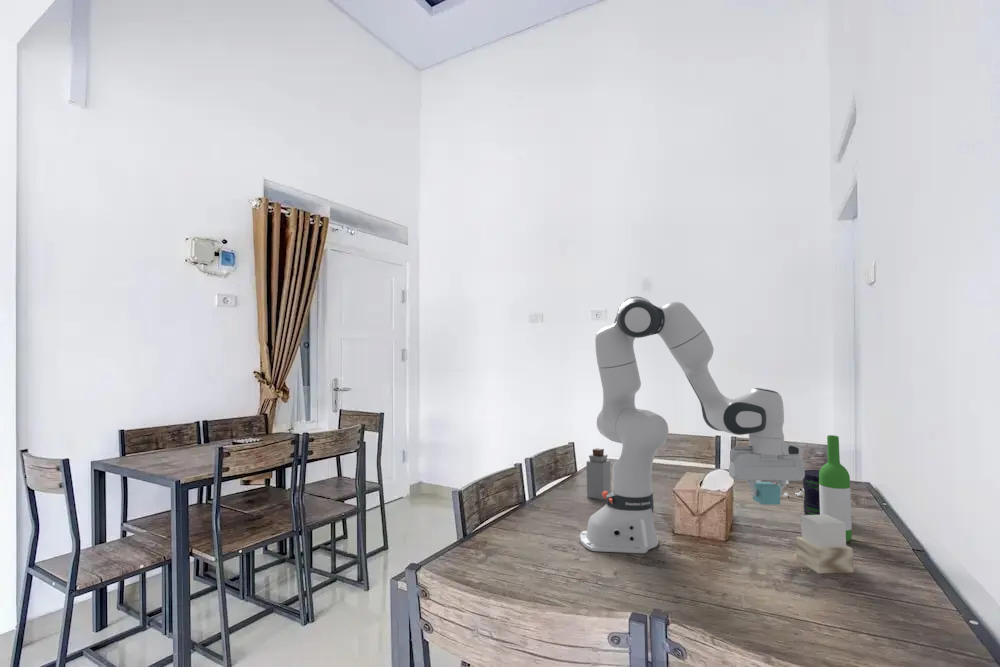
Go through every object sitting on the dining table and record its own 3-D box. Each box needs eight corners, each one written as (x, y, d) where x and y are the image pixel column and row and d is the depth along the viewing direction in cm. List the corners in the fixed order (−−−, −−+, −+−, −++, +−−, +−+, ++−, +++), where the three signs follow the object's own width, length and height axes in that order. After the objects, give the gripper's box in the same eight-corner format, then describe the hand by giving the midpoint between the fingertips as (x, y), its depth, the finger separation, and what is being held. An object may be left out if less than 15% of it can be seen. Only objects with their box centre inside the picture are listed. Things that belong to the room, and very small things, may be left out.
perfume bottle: (594, 493, 204) (594, 447, 205) (610, 495, 200) (610, 448, 201) (587, 497, 199) (586, 449, 199) (603, 499, 195) (602, 451, 195)
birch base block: (818, 574, 130) (817, 549, 130) (796, 559, 138) (795, 536, 139) (853, 572, 130) (852, 548, 130) (829, 558, 139) (828, 535, 139)
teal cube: (762, 504, 143) (762, 486, 143) (752, 499, 148) (752, 481, 148) (780, 504, 143) (780, 486, 143) (769, 499, 148) (769, 481, 148)
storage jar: (833, 526, 163) (831, 478, 164) (799, 518, 171) (797, 473, 171) (843, 519, 170) (841, 473, 170) (810, 512, 177) (808, 468, 178)
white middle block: (819, 548, 131) (818, 524, 131) (801, 538, 138) (801, 515, 138) (846, 547, 131) (845, 523, 131) (827, 537, 138) (826, 514, 138)
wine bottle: (824, 541, 151) (820, 437, 152) (817, 532, 158) (814, 433, 159) (855, 544, 148) (852, 438, 149) (847, 535, 155) (844, 434, 156)
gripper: (735, 447, 143) (735, 498, 142) (808, 448, 144) (808, 499, 143) (724, 444, 149) (724, 492, 148) (794, 444, 150) (794, 493, 149)
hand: (766, 496), depth 146 cm, fingers closed on teal cube, 5 cm apart
